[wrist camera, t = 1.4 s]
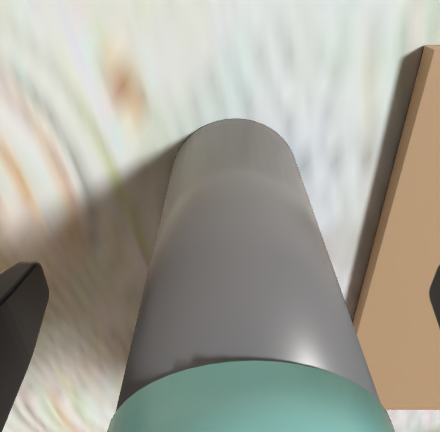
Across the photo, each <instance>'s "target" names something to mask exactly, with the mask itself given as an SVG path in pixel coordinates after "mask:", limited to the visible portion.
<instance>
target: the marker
mask: <svg viewBox="0 0 440 432" xmlns="http://www.w3.org/2000/svg"><path fill="white" fill-rule="evenodd" d="M107 432H395V431H394V428H393V425H392V422H391V420H390V418H389V415H388V413H387V411H386V410H385V408H384V407H383V406H382V404H381V402H380V400H379V397H378V394H377V391H376V388H375V385H374V383H373V380H372V377H371V374H370V371H369V368H368V366H367V363H366V360H365V357H364V354H363V351H362V348H361V346H360V343H359V340H358V337H357V334H356V331H355V329H354V326H353V323H352V320H351V317H350V314H349V312H348V309H347V306H346V303H345V300H344V297H343V295H342V292H341V289H340V286H339V283H338V280H337V277H336V275H335V272H334V269H333V266H332V263H331V260H330V258H329V255H328V252H327V249H326V246H325V243H324V241H323V238H322V235H321V232H320V229H319V226H318V223H317V221H316V218H315V215H314V212H313V209H312V206H311V204H310V201H309V198H308V195H307V192H306V189H305V187H304V184H303V181H302V178H301V175H300V172H299V170H298V167H297V164H296V161H295V158H294V156H293V153H292V151H291V149H290V147H289V146H288V144H287V143H286V142H285V140H284V139H283V138H282V137H281V136H280V135H279V134H278V133H276V132H275V131H274V130H272V129H271V128H269V127H267V126H265V125H263V124H261V123H258V122H255V121H252V120H246V119H225V120H219V121H216V122H213V123H210V124H208V125H206V126H203V127H201V128H200V129H198V130H197V131H195V132H194V133H193V134H192V135H191V136H189V137H188V138H187V140H186V141H185V142H184V143H183V144H182V146H181V147H180V149H179V151H178V153H177V155H176V157H175V160H174V164H173V168H172V172H171V176H170V181H169V185H168V189H167V194H166V198H165V202H164V206H163V211H162V215H161V219H160V224H159V228H158V232H157V237H156V241H155V245H154V249H153V254H152V258H151V262H150V267H149V271H148V275H147V280H146V284H145V288H144V293H143V297H142V301H141V305H140V310H139V314H138V318H137V323H136V327H135V331H134V336H133V340H132V344H131V348H130V353H129V357H128V361H127V366H126V370H125V374H124V379H123V383H122V387H121V391H120V396H119V400H118V404H117V409H116V413H115V414H114V416H113V418H112V419H111V422H110V425H109V428H108V431H107Z"/></svg>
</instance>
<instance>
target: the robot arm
mask: <svg viewBox="0 0 440 432" xmlns="http://www.w3.org/2000/svg"><path fill="white" fill-rule="evenodd" d="M48 298H49V288H48V285H47V282H46V279H45V276H44V272H43V269H42V267H41V265H40V264H39V263H38V262H19V263H17V264H16V265H14V266H12V267H11V268H9V269H8V270H6V271H5V272H3V273H2V274H0V432H2V430H3V428H4V425H5V423H6V420H7V418H8V415H9V413H10V411H11V408H12V406H13V403H14V401H15V398H16V396H17V393H18V391H19V388H20V386H21V384H22V381H23V379H24V376H25V374H26V371H27V369H28V366H29V364H30V361H31V358H32V355H33V352H34V348H35V345H36V341H37V338H38V334H39V331H40V327H41V324H42V320H43V316H44V313H45V309H46V306H47V302H48ZM429 298H430V302H431V305H432V308H433V311H434V314H435V317H436V320H437V323H438V326H439V329H440V265H439V266H438V268H437V270H436V273H435V276H434V278H433V281H432V283H431V286H430V289H429Z"/></svg>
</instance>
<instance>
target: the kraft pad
mask: <svg viewBox="0 0 440 432" xmlns="http://www.w3.org/2000/svg"><path fill="white" fill-rule="evenodd" d="M439 265H440V45H425V46H424V50H423V54H422V58H421V62H420V65H419V69H418V73H417V77H416V81H415V85H414V89H413V92H412V96H411V100H410V104H409V108H408V112H407V116H406V119H405V123H404V127H403V131H402V135H401V139H400V143H399V146H398V150H397V154H396V158H395V162H394V166H393V170H392V173H391V177H390V181H389V185H388V189H387V193H386V197H385V200H384V204H383V208H382V212H381V216H380V220H379V224H378V227H377V231H376V235H375V239H374V243H373V247H372V251H371V254H370V258H369V262H368V266H367V270H366V274H365V278H364V281H363V285H362V289H361V293H360V297H359V301H358V305H357V308H356V312H355V316H354V320H353V326H354V329H355V331H356V334H357V337H358V340H359V343H360V346H361V348H362V351H363V354H364V357H365V360H366V363H367V366H368V368H369V371H370V374H371V377H372V380H373V383H374V385H375V388H376V391H377V394H378V397H379V400H380V402H381V404H382V406H383V407H384V408H385V409H387V410H440V329H439V326H438V323H437V320H436V317H435V314H434V311H433V308H432V305H431V302H430V298H429V289H430V286H431V283H432V281H433V278H434V276H435V273H436V270H437V268H438V266H439Z"/></svg>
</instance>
